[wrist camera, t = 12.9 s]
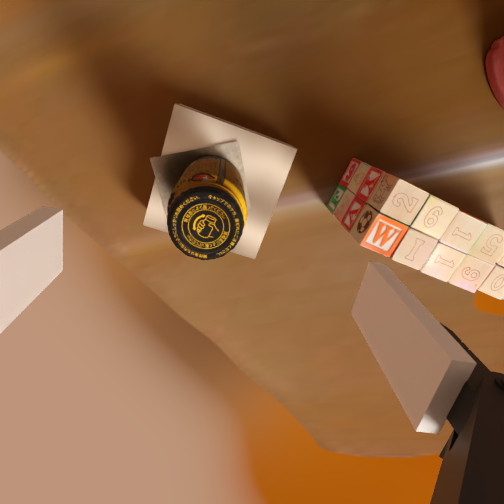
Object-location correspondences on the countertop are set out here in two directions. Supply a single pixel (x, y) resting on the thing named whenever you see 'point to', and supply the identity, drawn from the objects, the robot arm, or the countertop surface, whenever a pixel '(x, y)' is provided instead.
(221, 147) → the condiment
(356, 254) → the countertop surface
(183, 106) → the birch block
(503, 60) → the stacking bear
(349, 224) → the stack of blocks
